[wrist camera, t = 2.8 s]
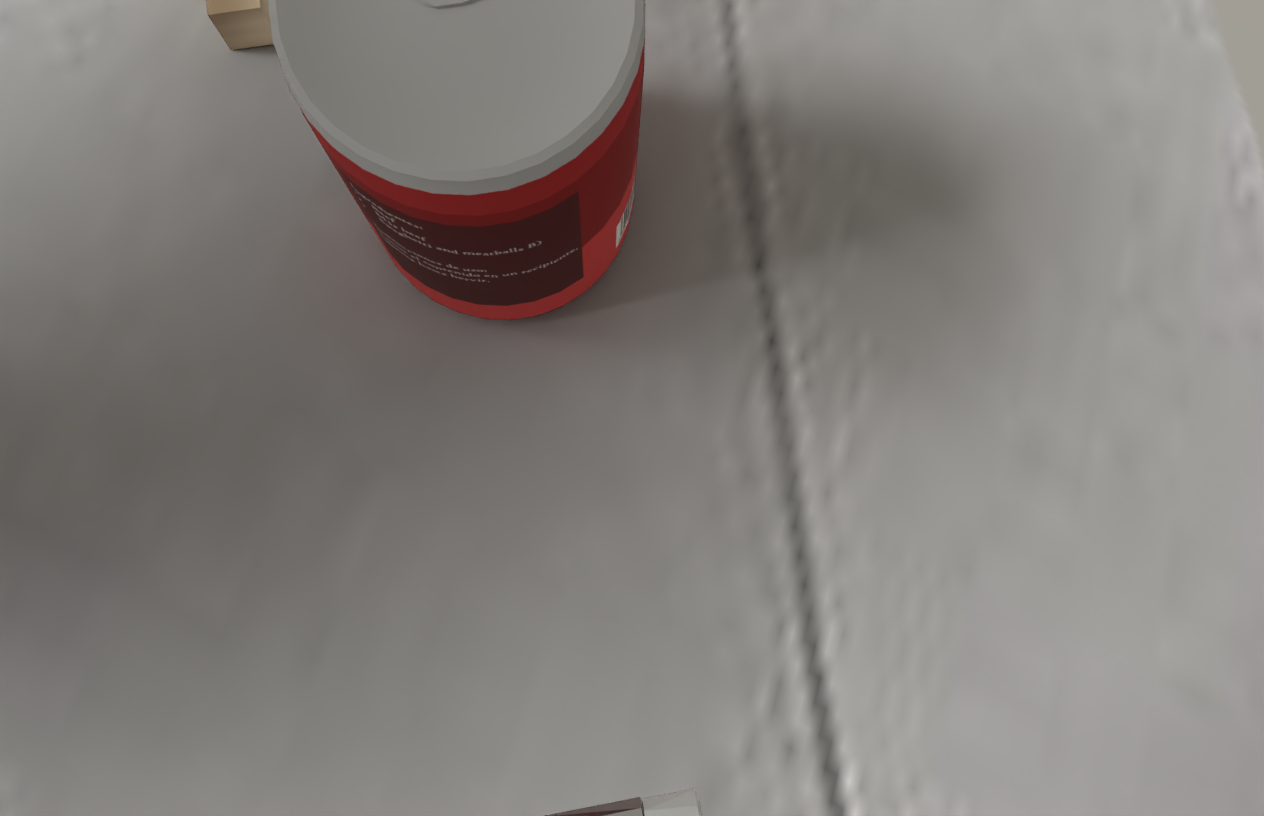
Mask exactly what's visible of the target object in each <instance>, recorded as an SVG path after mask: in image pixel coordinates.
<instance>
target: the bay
mask: <svg viewBox="0 0 1264 816" xmlns="http://www.w3.org/2000/svg"><path fill="white" fill-rule="evenodd" d="M268 3H269V0H206V4H207V13H208V16H209V18H210V19H211V21H212V22H213V24H214V25H215V27H216V28H217V30H218V31H219V33H220V34H221V36H222V37H223V39H224V40H225V42H226V43H227V45H228V46H229V48H230V50H235V49H242V48H250V47H257V46H264V45H271V44H273V39H272V32H271V24H270V17H269V9H268Z"/></svg>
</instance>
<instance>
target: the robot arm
mask: <svg viewBox="0 0 1264 816" xmlns="http://www.w3.org/2000/svg"><path fill="white" fill-rule="evenodd" d="M642 807H643V810H642ZM643 813H644V815H643ZM545 816H702V811H701V806H700V801H699V798H698V796H697V794H696V791H695V789H689V790H684V791H679V792H674V793H669V794H664V795H659V796H653V797H648V798H643V799H642V804H641V799H640V797H638V798H633V799H628V800H622V801H617V802H612V803H607V804H602V805H597V806H591V807H586V808H581V809H576V810H571V811H566V812H561V813H555V814H550V815H545Z"/></svg>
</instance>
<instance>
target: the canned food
mask: <svg viewBox="0 0 1264 816" xmlns="http://www.w3.org/2000/svg"><path fill="white" fill-rule="evenodd" d="M268 9H269V17H270V24H271V32H272V39H273V44H274V46H275V49H276V52H277V55H278V58H279V61H280V64H281V67H282V70H283V72H284V75H285V78H286V81H287V84H288V87H289V90H290V91H291V93H292V95H293V96H294V98H295V100H296V101H297V103H298V105H299V106H300V108H301V111H302V113H303V115H304V117H305V118H306V120H307V122H308V123H309V125H310V127H311V128H312V130H313V132H314V133H315V135H316V137H317V138H318V140H319V142H320V143H321V145H322V147H323V148H324V150H325V151H326V153H327V155H328V156H329V158H330V160H331V161H332V163H333V164H334V166H335V168H336V169H337V171H338V173H339V174H340V176H341V178H342V179H343V181H344V182H345V184H346V186H347V187H348V189H349V191H350V192H351V194H352V195H353V197H354V199H355V200H356V202H357V204H358V205H359V207H360V209H361V210H362V212H363V213H364V215H365V217H366V218H367V220H368V222H369V223H370V225H371V226H372V228H373V230H374V231H375V233H376V235H377V236H378V238H379V240H380V241H381V243H382V244H383V246H384V248H385V249H386V251H387V253H388V254H389V256H390V258H391V259H392V261H393V262H394V264H395V266H396V267H397V268H398V269H399V270H400V271H401V272H402V274H403V275H404V276H405V277H406V278H407V279H408V280H409V281H410V282H411V283H412V284H413V286H415V287H416V288H417V289H419V290H420V291H422V292H423V293H424V294H426V295H427V296H428V297H430V298H431V299H432V300H434V301H435V302H437V303H440V304H442V305H444V306H446V307H448V308H450V309H453V310H455V311H457V312H459V313H463V314H467V315H471V316H476V317H480V318H484V319H504V320H513V319H519V318H526V317H532V316H538V315H540V314H543V313H546V312H548V311H551V310H554V309H557V308H559V307H562V306H564V305H565V304H567V303H568V302H570V301H572V300H573V299H575V298H576V297H578V296H580V295H581V294H583V293H584V292H585V291H586V290H587V289H589V288H590V287H591V286H592V285H593V284H594V283H595V282H596V281H597V280H598V279H599V278H600V277H601V276H602V275H603V274H604V273H605V271H606V270H607V268H608V267H609V266H610V264H611V263H612V261H613V260H614V258H615V257H616V256H617V254H618V252H619V250H620V247H621V245H622V243H623V241H624V238H625V236H626V234H627V231H628V228H629V223H630V218H631V214H632V209H633V202H634V189H635V176H636V163H637V151H638V138H639V125H640V112H641V100H642V87H643V74H644V46H645V0H269V3H268Z"/></svg>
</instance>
